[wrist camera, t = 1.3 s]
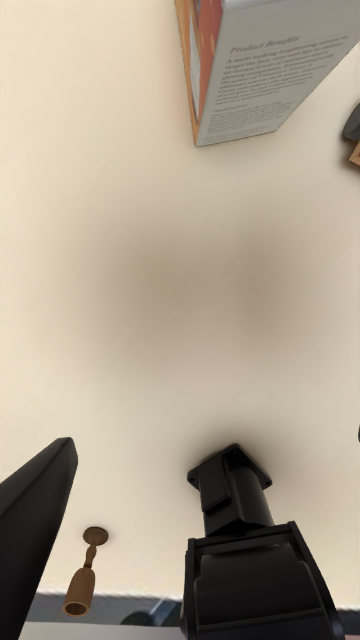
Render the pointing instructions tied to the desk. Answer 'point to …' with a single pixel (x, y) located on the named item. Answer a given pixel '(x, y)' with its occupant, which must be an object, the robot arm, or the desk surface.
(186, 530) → the desk surface
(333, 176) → the desk surface
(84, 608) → the place setting
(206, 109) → the small box
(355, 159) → the cart
